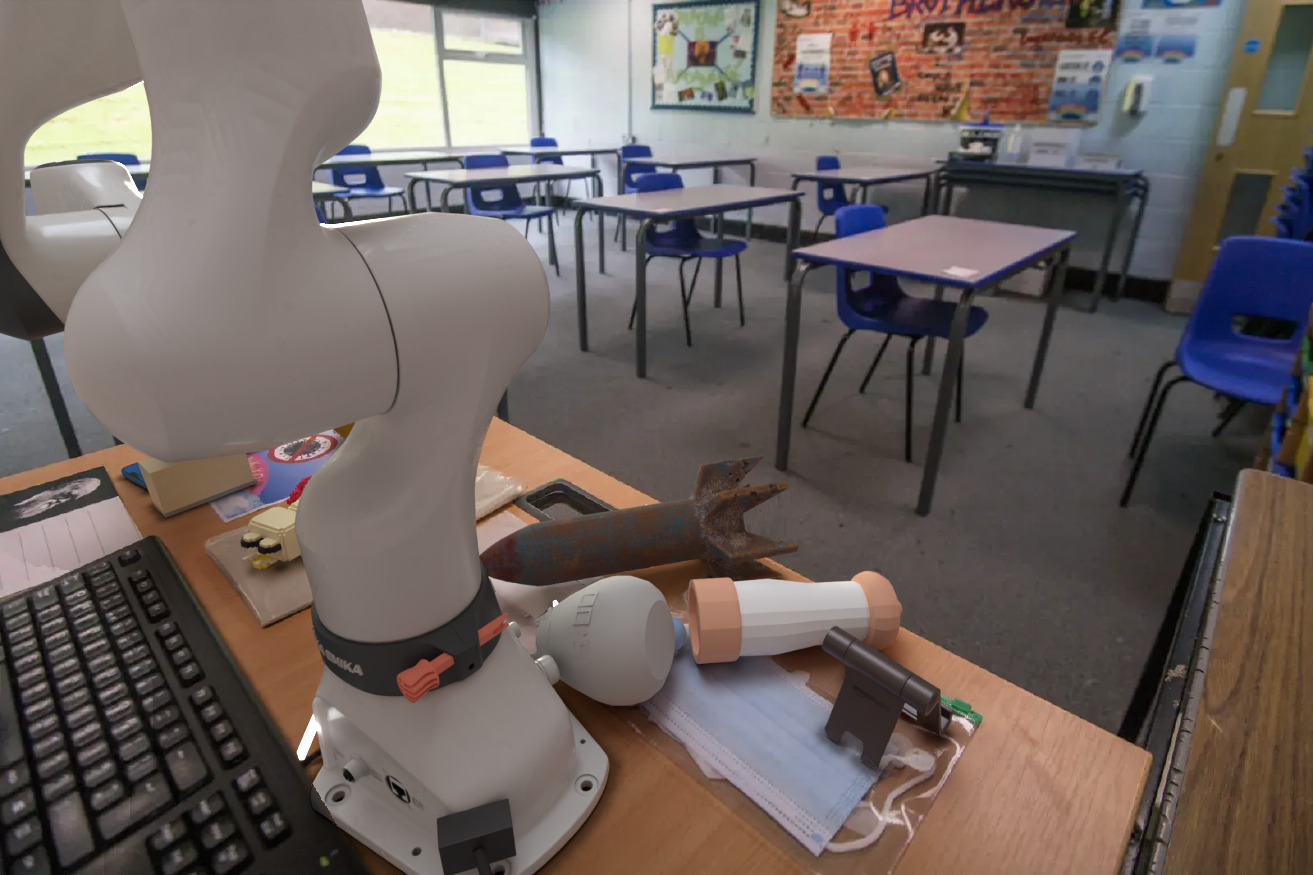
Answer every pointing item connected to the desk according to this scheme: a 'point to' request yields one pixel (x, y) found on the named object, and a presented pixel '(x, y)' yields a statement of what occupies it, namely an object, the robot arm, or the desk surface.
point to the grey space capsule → (610, 640)
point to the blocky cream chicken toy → (274, 532)
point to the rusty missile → (648, 536)
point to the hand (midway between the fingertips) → (170, 436)
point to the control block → (194, 481)
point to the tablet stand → (878, 697)
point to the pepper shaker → (787, 615)
